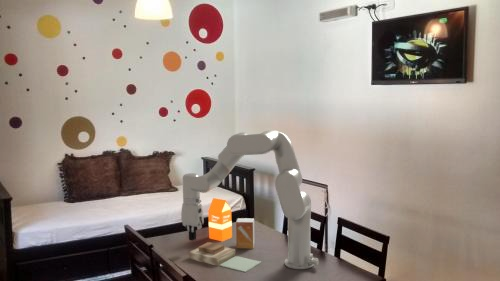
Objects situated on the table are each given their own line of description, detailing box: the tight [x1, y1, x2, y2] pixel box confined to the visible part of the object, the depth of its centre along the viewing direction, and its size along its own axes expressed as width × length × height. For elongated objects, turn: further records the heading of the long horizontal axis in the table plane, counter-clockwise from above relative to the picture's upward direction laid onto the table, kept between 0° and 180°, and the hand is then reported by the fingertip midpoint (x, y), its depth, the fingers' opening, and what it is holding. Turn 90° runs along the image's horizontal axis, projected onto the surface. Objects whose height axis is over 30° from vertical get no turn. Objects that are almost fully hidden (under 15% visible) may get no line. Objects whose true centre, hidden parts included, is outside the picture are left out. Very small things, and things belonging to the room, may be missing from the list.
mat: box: [219, 255, 262, 273], centre depth 203 cm, size 14×12×1 cm
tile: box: [198, 241, 225, 255], centre depth 211 cm, size 9×7×2 cm
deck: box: [188, 246, 237, 267], centre depth 211 cm, size 16×13×3 cm
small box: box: [235, 217, 255, 250], centre depth 223 cm, size 8×6×13 cm
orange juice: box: [207, 197, 233, 242], centre depth 236 cm, size 8×9×20 cm
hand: (192, 239), depth 217 cm, fingers closed
